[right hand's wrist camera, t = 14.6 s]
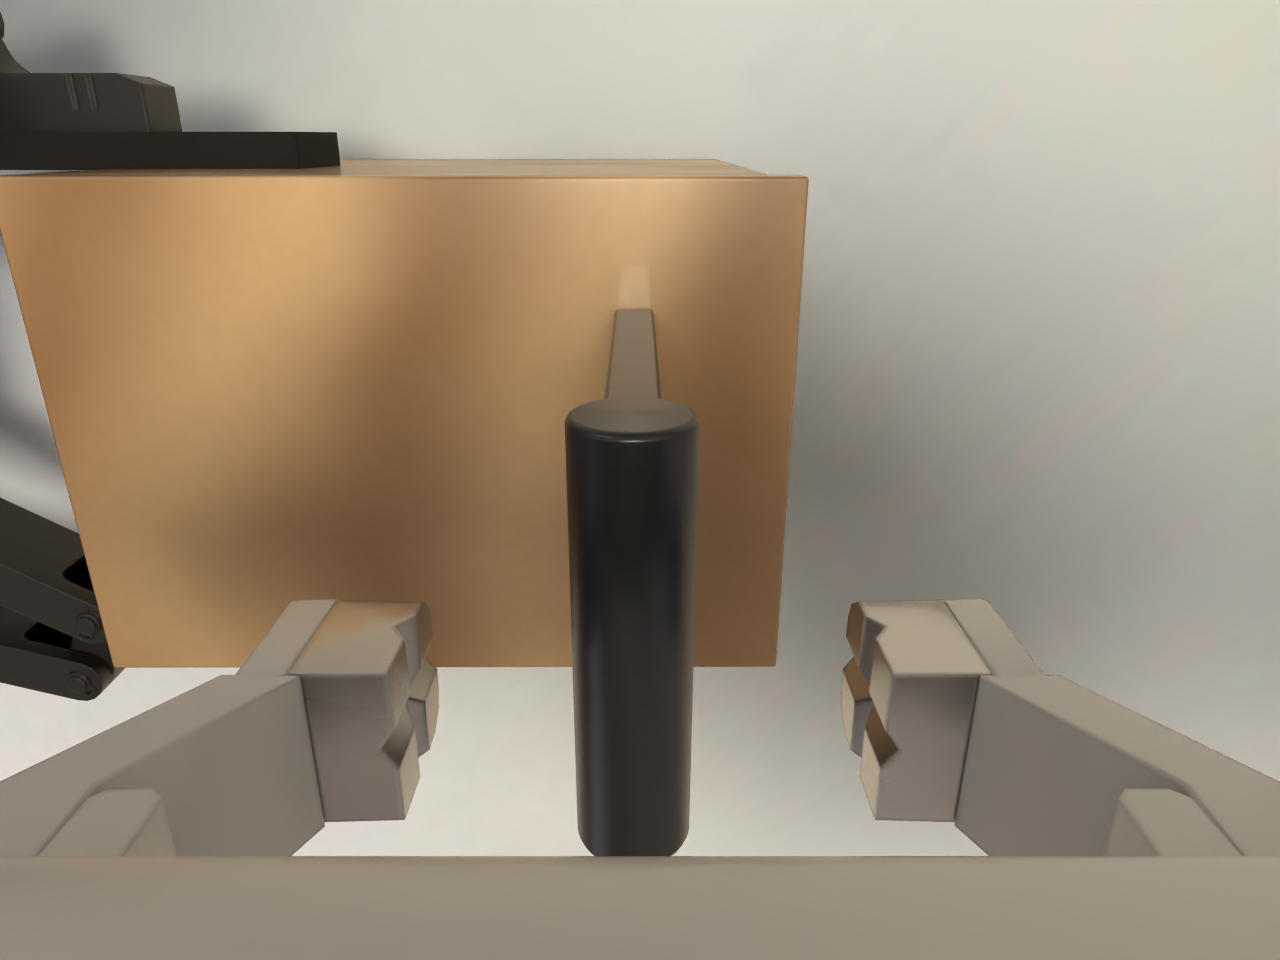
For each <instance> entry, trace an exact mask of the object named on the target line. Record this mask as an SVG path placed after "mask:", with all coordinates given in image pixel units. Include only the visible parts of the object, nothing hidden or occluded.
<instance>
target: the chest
mask: <svg viewBox="0 0 1280 960" xmlns="http://www.w3.org/2000/svg"><path fill="white" fill-rule="evenodd" d="M23 175H767V174H764V173H760V172H757V171H753V170H750V169H747V168H743V167H740V166H736V165H733V164H730V163H726V162H723V161H720V160H712V159H340V165H334V166H324V167H313V168H303V169H100V170H84V171H67V172H51V173H35V174H23Z"/></svg>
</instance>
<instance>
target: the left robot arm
mask: <svg viewBox="0 0 1280 960" xmlns="http://www.w3.org/2000/svg"><path fill="white" fill-rule="evenodd" d="M3 36H4V22H3V19H2V15H1V13H0V170H100V169H303V168H313V167H324V166H334V165H340V157H339V149H338V141H337V133H335V132H182V128H181V122H180V117H179V111H178V106H177V100H176V94H175V89H174V87H173V86H170V85H168V84H165V83H163V82H160V81H158V80H155V79H153V78H150V77H142V76H134V75H125V74H117V73H90V74H89V73H30V72H28V71H27V70H25V69H24V68H22V67H21V66H20V65H19V64H18V63H17V62H16V61H15V60H14V58H13V57H12V55H11V54H10V52H9V51H8V49H7V47H6V46H5V44H4V42H3V40H2V38H3ZM125 668H126V667H114V666H113V662H112V658H111V654H110V650H109V647H108V643H107V639H106V635H105V631H104V627H103V624H102V620H101V616H100V612H99V608H98V604H97V600H96V597H95V593H94V589H93V585H92V581H91V577H90V573H89V570H88V566H87V562H86V558H85V554H84V550H83V547H82V543H81V539H80V535H79V534H78V533H76V532H74V531H71V530H69V529H67V528H65V527H63V526H61V525H58V524H56V523H54V522H52V521H50V520H48V519H45V518H43V517H41V516H39V515H37V514H34V513H32V512H30V511H28V510H26V509H24V508H21V507H19V506H17V505H15V504H13V503H11V502H8V501H6V500H4V499H2V498H0V682H1V683H6V684H10V685H14V686H19V687H23V688H28V689H32V690H36V691H41V692H45V693H49V694H54V695H58V696H63V697H67V698H71V699H76V700H84V701H88V700H91V699H95V698H96V697H97V696H98V695H99V694H100V693H101V692H102V691H103V690H104V689H105V688H106V687H107V686H108V685H109V684H110V683H111V682H112V681H113V680H114V679H115V678H116V677H117V676H118V675H119V674H120V673H121V672H122V671H123V670H124V669H125Z"/></svg>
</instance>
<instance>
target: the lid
mask: <svg viewBox="0 0 1280 960" xmlns="http://www.w3.org/2000/svg"><path fill="white" fill-rule="evenodd" d="M808 182H809V180H808V177H805V176H801V175H2V176H0V231H1V235H2V239H3V243H4V246H5V250H6V254H7V258H8V262H9V266H10V269H11V273H12V277H13V281H14V285H15V289H16V293H17V296H18V300H19V304H20V308H21V312H22V316H23V320H24V323H25V327H26V331H27V335H28V339H29V343H30V346H31V350H32V354H33V358H34V362H35V366H36V370H37V373H38V377H39V381H40V385H41V389H42V393H43V396H44V400H45V404H46V408H47V412H48V416H49V420H50V423H51V427H52V431H53V435H54V439H55V443H56V447H57V450H58V454H59V458H60V462H61V466H62V470H63V473H64V477H65V481H66V485H67V489H68V493H69V497H70V500H71V504H72V508H73V512H74V516H75V520H76V523H77V527H78V531H79V535H80V539H81V543H82V547H83V550H84V554H85V558H86V562H87V566H88V570H89V573H90V577H91V581H92V585H93V589H94V593H95V597H96V600H97V604H98V608H99V612H100V616H101V620H102V624H103V627H104V631H105V635H106V639H107V643H108V647H109V650H110V654H111V658H112V662H113V666H114V667H241V666H242V665H243V664H244V663H245V661H246V660H247V659H248V657H249V656H250V655H251V653H252V652H253V651H254V649H255V648H256V647H257V645H258V644H259V643H260V642H261V640H262V639H263V638H264V636H265V635H266V634H267V632H268V631H269V630H270V628H271V627H272V626H273V624H274V623H275V622H276V621H277V619H278V618H279V617H280V615H281V614H282V613H283V611H284V610H285V609H286V607H287V606H288V605H289V604H290V603H291V602H292V601H297V600H321V599H338V600H339V601H341V600H368V601H422V602H426V603H427V605H428V607H429V609H430V611H431V619H432V627H433V634H434V636H433V639H432V641H431V644H430V646H429V649H428V651H427V654H426V657H427V658H428V659H429V661H430V662H431V663H432V664H433V665H434V666H435V667H573V695H574V726H575V756H576V786H577V817H578V831H579V835H580V838H581V840H582V841H583V843H584V845H585V846H586V848H587V849H588V850H589V851H590V852H591V853H592V854H593V855H594V856H672V855H673V854H675V853H676V852H677V851H678V849H679V848H680V847H681V846H682V844H683V842H684V841H685V839H686V837H687V834H688V830H689V807H690V770H691V732H692V695H693V667H773V666H775V665H776V655H777V640H778V626H779V611H780V596H781V581H782V566H783V552H784V537H785V522H786V507H787V492H788V478H789V463H790V448H791V433H792V418H793V404H794V389H795V374H796V359H797V344H798V330H799V315H800V300H801V285H802V270H803V256H804V241H805V226H806V211H807V196H808Z"/></svg>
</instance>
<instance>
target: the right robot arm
mask: <svg viewBox="0 0 1280 960" xmlns="http://www.w3.org/2000/svg"><path fill="white" fill-rule="evenodd" d="M433 636H434V634H433V627H432V619H431V611H430V609H429V607H428V605H427V603H426V602H422V601H368V600H341V601H339V600H338V599H321V600H297V601H292V602H291V603H290V604H289V605H288V606H287V607H286V609H285V610H284V611H283V613H282V614H281V615H280V617H279V618H278V619H277V621H276V622H275V623H274V624H273V626H272V627H271V628H270V630H269V631H268V632H267V634H266V635H265V636H264V638H263V639H262V640H261V642H260V643H259V644H258V645H257V647H256V648H255V649H254V651H253V652H252V653H251V655H250V656H249V657H248V659H247V660H246V661H245V663H244V664H243V665H242V666H241V668H240V669H239V670H238V672H237V673H236V674H235V675H221V676H218V677H216V678H214V679H212V680H210V681H208V682H206V683H204V684H202V685H200V686H198V687H196V688H194V689H191V690H189V691H187V692H185V693H183V694H181V695H179V696H177V697H175V698H173V699H171V700H169V701H167V702H164V703H162V704H160V705H158V706H156V707H154V708H152V709H150V710H148V711H146V712H144V713H142V714H140V715H137V716H135V717H133V718H131V719H129V720H127V721H125V722H123V723H121V724H119V725H117V726H115V727H113V728H110V729H108V730H106V731H104V732H102V733H100V734H98V735H96V736H94V737H92V738H90V739H88V740H86V741H83V742H81V743H79V744H77V745H75V746H73V747H71V748H69V749H67V750H65V751H63V752H61V753H59V754H56V755H54V756H52V757H50V758H48V759H46V760H44V761H42V762H40V763H38V764H36V765H34V766H31V767H29V768H27V769H25V770H23V771H21V772H19V773H17V774H15V775H13V776H11V777H9V778H7V779H4V780H2V781H0V960H1280V782H1279V781H1277V780H1275V779H1273V778H1271V777H1268V776H1266V775H1264V774H1262V773H1260V772H1258V771H1256V770H1254V769H1252V768H1250V767H1248V766H1246V765H1244V764H1242V763H1239V762H1237V761H1235V760H1233V759H1231V758H1229V757H1227V756H1225V755H1223V754H1221V753H1219V752H1217V751H1215V750H1213V749H1210V748H1208V747H1206V746H1204V745H1202V744H1200V743H1198V742H1196V741H1194V740H1192V739H1190V738H1188V737H1186V736H1184V735H1181V734H1179V733H1177V732H1175V731H1173V730H1171V729H1169V728H1167V727H1165V726H1163V725H1161V724H1159V723H1157V722H1155V721H1153V720H1150V719H1148V718H1146V717H1144V716H1142V715H1140V714H1138V713H1136V712H1134V711H1132V710H1130V709H1128V708H1126V707H1124V706H1121V705H1119V704H1117V703H1115V702H1113V701H1111V700H1109V699H1107V698H1105V697H1103V696H1101V695H1099V694H1097V693H1095V692H1092V691H1090V690H1088V689H1086V688H1084V687H1082V686H1080V685H1078V684H1076V683H1074V682H1072V681H1070V680H1068V679H1066V678H1063V677H1061V676H1059V675H1044V673H1043V672H1042V671H1041V669H1040V668H1039V667H1038V665H1037V664H1036V663H1035V662H1034V660H1033V659H1032V658H1031V656H1030V655H1029V654H1028V652H1027V651H1026V650H1025V648H1024V647H1023V646H1022V645H1021V643H1020V642H1019V641H1018V639H1017V638H1016V637H1015V635H1014V634H1013V633H1012V632H1011V630H1010V629H1009V628H1008V626H1007V625H1006V624H1005V622H1004V621H1003V620H1002V618H1001V617H1000V616H999V615H998V613H997V612H996V611H995V609H994V608H993V607H992V605H991V604H990V603H989V602H987V601H985V600H982V599H967V600H944V601H943V600H919V601H877V602H856V603H852V605H851V609H850V612H849V616H848V624H847V633H846V636H847V639H848V641H849V644H850V646H851V649H852V651H853V654H854V657H853V658H852V659H851V660H850V662H849V663H848V664H847V665H846V666H845V667H844V668H843V674H842V688H841V702H842V719H843V724H844V729H845V734H846V737H847V740H848V744H849V747H850V750H852V751H853V752H855V753H856V754H857V755H859V756H860V757H861V758H862V760H861V769H860V779H861V782H862V784H863V787H864V790H865V793H866V796H867V799H868V801H869V804H870V807H871V810H872V813H873V815H874V818H875V820H899V821H936V822H955V826H956V827H957V828H958V829H959V830H960V831H962V832H963V833H964V834H965V835H966V836H967V837H968V838H969V839H971V840H972V841H973V842H974V843H975V844H976V845H977V846H979V847H980V848H981V849H982V850H983V851H984V852H985V853H986V854H988V855H989V856H292V855H293V854H294V853H295V852H296V851H297V850H298V849H300V848H301V847H302V846H303V845H304V844H305V843H306V842H307V841H309V840H310V839H311V838H312V837H313V836H314V835H315V834H317V833H318V832H319V831H320V830H321V829H322V828H323V827H324V826H325V824H324V822H343V821H379V820H405V818H406V815H407V813H408V810H409V807H410V804H411V801H412V798H413V796H414V793H415V790H416V787H417V784H418V781H419V778H420V770H419V761H418V757H420V756H421V755H423V754H424V753H425V752H427V751H428V750H429V749H430V746H431V743H432V740H433V737H434V734H435V729H436V722H437V715H438V708H439V686H438V674H437V668H436V667H435V666H434V665H433V664H432V663H431V662H430V661H429V659H428V658H427V657H426V654H427V651H428V649H429V646H430V644H431V641H432V639H433Z"/></svg>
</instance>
